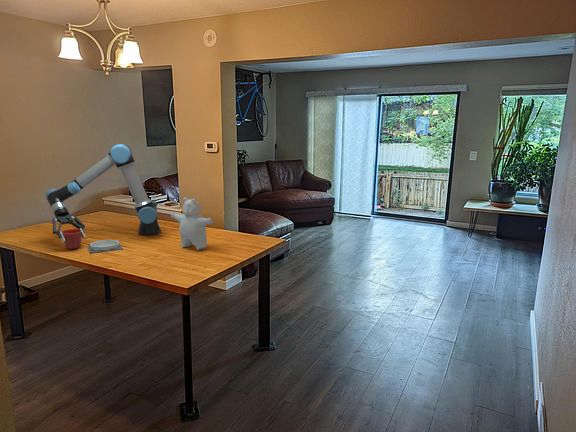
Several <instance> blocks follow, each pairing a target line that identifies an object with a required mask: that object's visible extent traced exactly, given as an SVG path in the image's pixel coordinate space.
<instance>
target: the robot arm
mask: <svg viewBox="0 0 576 432" xmlns="http://www.w3.org/2000/svg"><path fill="white" fill-rule="evenodd" d="M135 162H136V161H135V159H134V156H133V154H132V148H130V146H129V145H127V144H125V143H118V144H115V145H113V146H112V148H111V149H110V151H109V152H108V153H107V155H106V156H105V157H104V158H103V159H101V160H100V161H98V162H96V163H95V164H94V165H93V166H91V167H89V169H87V170H86V171H84V172H82V174H80V175H79V176H77V177H76V178H75V179H73V180H72V181H70V182H69V183H67V184H66V185H64V186H62V187H61V188H59V189H57V188H51V189H47V191H45V198H46V200H47V203H48V204H49V206H50V208H51V210H52V212H53V214H54V216H55V218H52V219H51V223H52V234H53V235H57V237H58V239H60V240H61V242H62V244H65V241H66V240H65V238H64V236H63V234H62V231H61V229H62V226H63V225H68V224H69V225H72V226H73V227H75V229H80V230H82V232H81V239H82V240H84V239H86V235H85V232H86V231H85V227H86V225H85V223H83V222H82V221H81V220H80V219H79V218H78V217H77V215H76V214H73V215H70V212H69V211H68V209H67V206H66V205H65V203H64V201H66V200H68V199H69V198H72V197H74V196H75V195H78V193H80V192H81V191H82V190H83V189H84V188H86V187H87V186H89V185H90V184H92V183H93V182H94V181H95V180H97V179H98V178H99V177H101V176H102V175H104V174H105V173H106V172H107V171H109V170H111V169H112V168H113V167H115V166H116V169H118V170H120V171H121V174H122V176H123V179H124V180H125V183H126V185H127V187H128V189H129V191H130V194H131V196H132V198H133V201H134V203H135V204H134V208H135V211H136V213H137V218H138V219H139V225H138V230H137V233H138V235H141V236H153V235H154V236H155V235H159V234H160V233H161V230H162V229H161V227H160V225H159V222H158V205H157V203H158V202H157V201H156V200H152V199H149V197H148V195H147V192H146V190H145V188H144V186H143V184H142V181H141V178H140V176H139V173H138V171H137V169H136V167H135ZM57 222H58V223H59V225H58V227H57Z"/></svg>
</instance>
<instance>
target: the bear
mask: <svg viewBox="0 0 576 432" xmlns="http://www.w3.org/2000/svg"><path fill="white" fill-rule="evenodd" d="M182 200H183V205H182V213H180V214H179V213H176V212H170V216H171V219H175V221H177V222H178V223H179V229H178V232H179V235H180V242H181V243H180V247H182V248H189V247H191V246H192V245H193V246H194V247H195V249H196V251H199V250H201V251H202V250H204V249H206V248H207V246H208V240H207V239H208V238H207V229H206V226H208V225H213V222H214V221H213V220H212V218H211V217H207V218H206V217H203V215H201V214H199V213H200V210H201V208H200V207H201V206H200V204H199V202H198V201H197V200H196V199H195V198H191V199H190V198H187V197H184V198H183V199H182Z"/></svg>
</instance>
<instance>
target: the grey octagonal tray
mask: <svg viewBox="0 0 576 432" xmlns="http://www.w3.org/2000/svg"><path fill="white" fill-rule="evenodd" d="M87 248H88V252H89V254H97V253H98V254H99V253H106V252H114V251H122V250H124V248H123V246H122V245H121V244H120V242H119V240H117V239H103V240H96V241H94V242H91V243H89V244H87Z"/></svg>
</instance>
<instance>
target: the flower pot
mask: <svg viewBox="0 0 576 432" xmlns="http://www.w3.org/2000/svg"><path fill="white" fill-rule="evenodd" d="M61 232H62V234H63V236H64V238H65V240H66V241H65V243H64V247H65V248H67V249H76V248H79V247H80V246H81V243H82V242H81V241H82V236H81V232H82V230H80V229H78V228H71V229H66V230H62V231H61Z"/></svg>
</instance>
